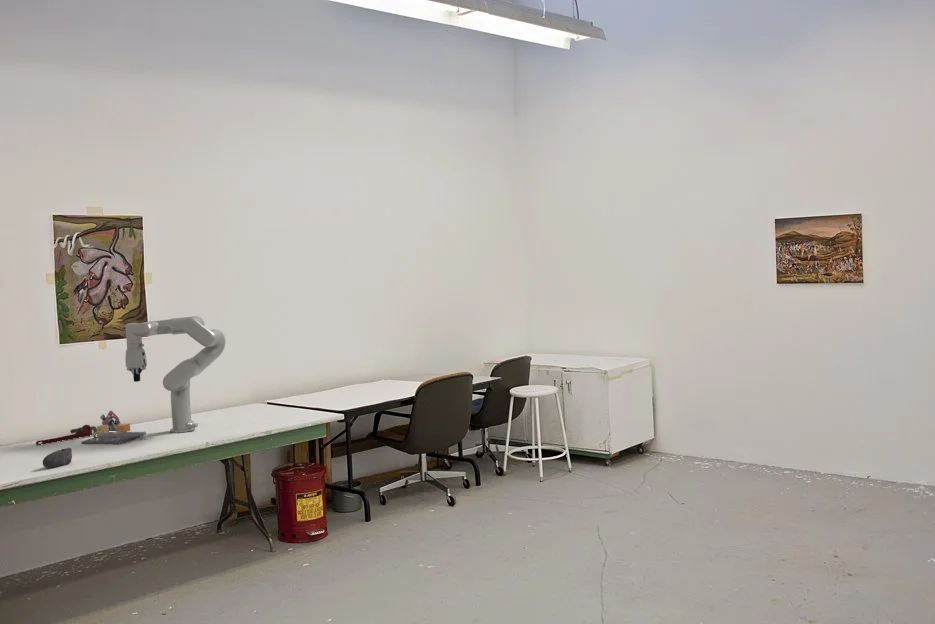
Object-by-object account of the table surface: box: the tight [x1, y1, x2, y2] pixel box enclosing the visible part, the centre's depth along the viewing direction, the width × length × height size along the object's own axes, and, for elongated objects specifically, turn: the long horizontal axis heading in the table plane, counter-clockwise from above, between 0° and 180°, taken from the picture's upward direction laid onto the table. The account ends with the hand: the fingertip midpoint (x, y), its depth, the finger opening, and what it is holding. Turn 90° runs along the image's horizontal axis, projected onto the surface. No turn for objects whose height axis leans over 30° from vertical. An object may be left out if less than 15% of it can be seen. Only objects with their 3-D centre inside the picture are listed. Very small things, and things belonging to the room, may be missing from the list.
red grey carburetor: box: [99, 410, 122, 432], centre depth 465 cm, size 11×11×12 cm
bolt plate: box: [80, 424, 147, 445], centre depth 433 cm, size 27×16×7 cm, turn 76°
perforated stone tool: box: [42, 447, 73, 469], centre depth 379 cm, size 15×5×7 cm, turn 152°
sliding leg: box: [112, 423, 131, 438], centre depth 434 cm, size 4×11×5 cm, turn 167°
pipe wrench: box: [35, 424, 97, 446], centre depth 443 cm, size 7×2×30 cm
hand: (137, 381), depth 453 cm, fingers closed
